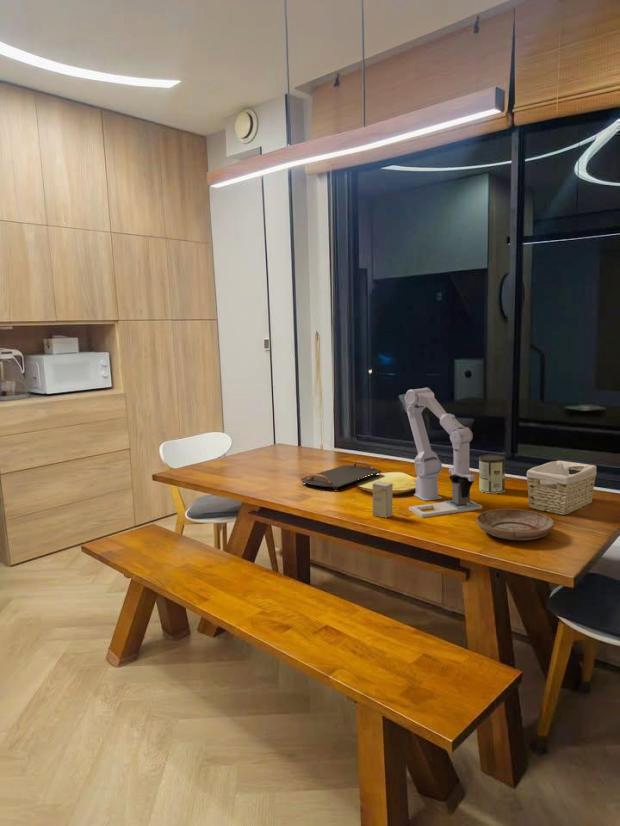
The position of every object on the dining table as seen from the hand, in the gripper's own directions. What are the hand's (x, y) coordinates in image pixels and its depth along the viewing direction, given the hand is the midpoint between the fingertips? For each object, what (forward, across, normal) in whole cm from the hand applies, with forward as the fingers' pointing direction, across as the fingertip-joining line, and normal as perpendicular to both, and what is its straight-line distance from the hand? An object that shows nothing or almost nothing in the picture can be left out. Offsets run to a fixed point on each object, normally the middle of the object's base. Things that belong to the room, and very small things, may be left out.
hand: (461, 495), depth 211 cm
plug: (+2, 0, 0) cm, 2 cm away
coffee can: (+5, -14, +23) cm, 27 cm away
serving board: (+5, -58, -27) cm, 64 cm away
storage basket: (+5, +14, +34) cm, 37 cm away
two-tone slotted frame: (+4, 0, -7) cm, 8 cm away
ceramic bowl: (+5, +31, 0) cm, 31 cm away
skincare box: (+5, -3, -31) cm, 31 cm away
